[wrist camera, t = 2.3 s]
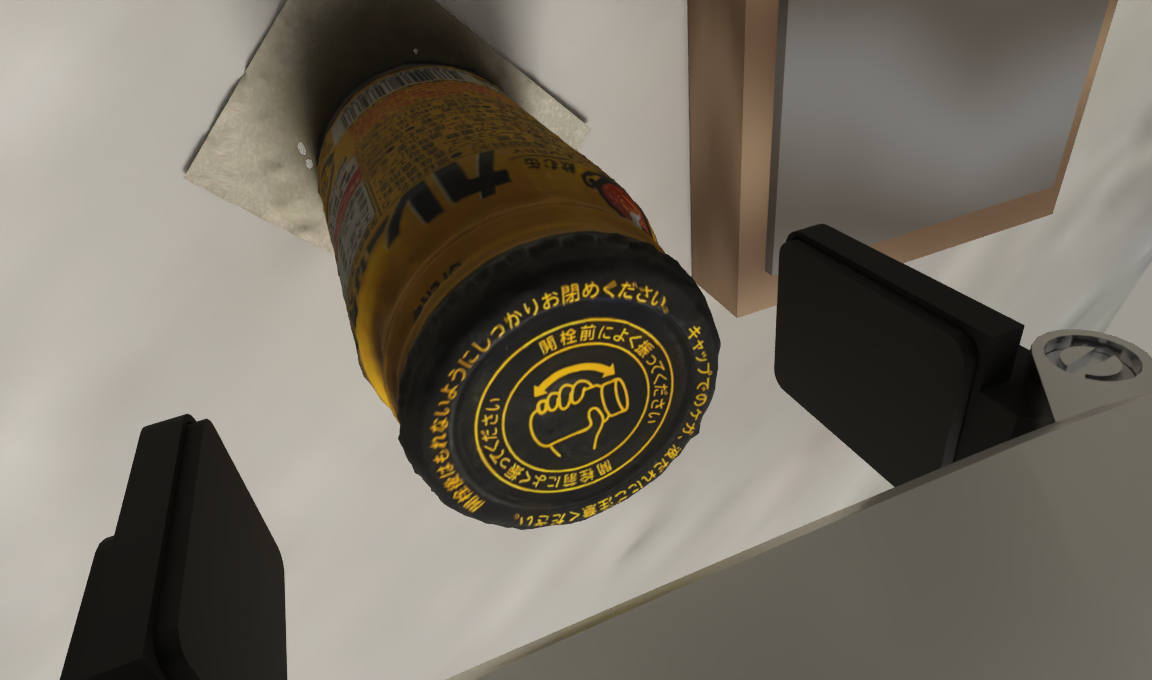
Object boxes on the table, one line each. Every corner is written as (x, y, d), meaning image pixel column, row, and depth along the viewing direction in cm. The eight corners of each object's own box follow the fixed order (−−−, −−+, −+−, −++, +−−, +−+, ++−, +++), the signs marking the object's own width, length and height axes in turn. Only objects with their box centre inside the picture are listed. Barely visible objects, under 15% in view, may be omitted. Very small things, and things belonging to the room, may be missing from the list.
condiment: (453, 313, 23) (598, 608, 13) (183, 175, 18) (102, 488, 8) (588, 126, 21) (861, 307, 12) (333, -82, 16) (444, -65, 7)
